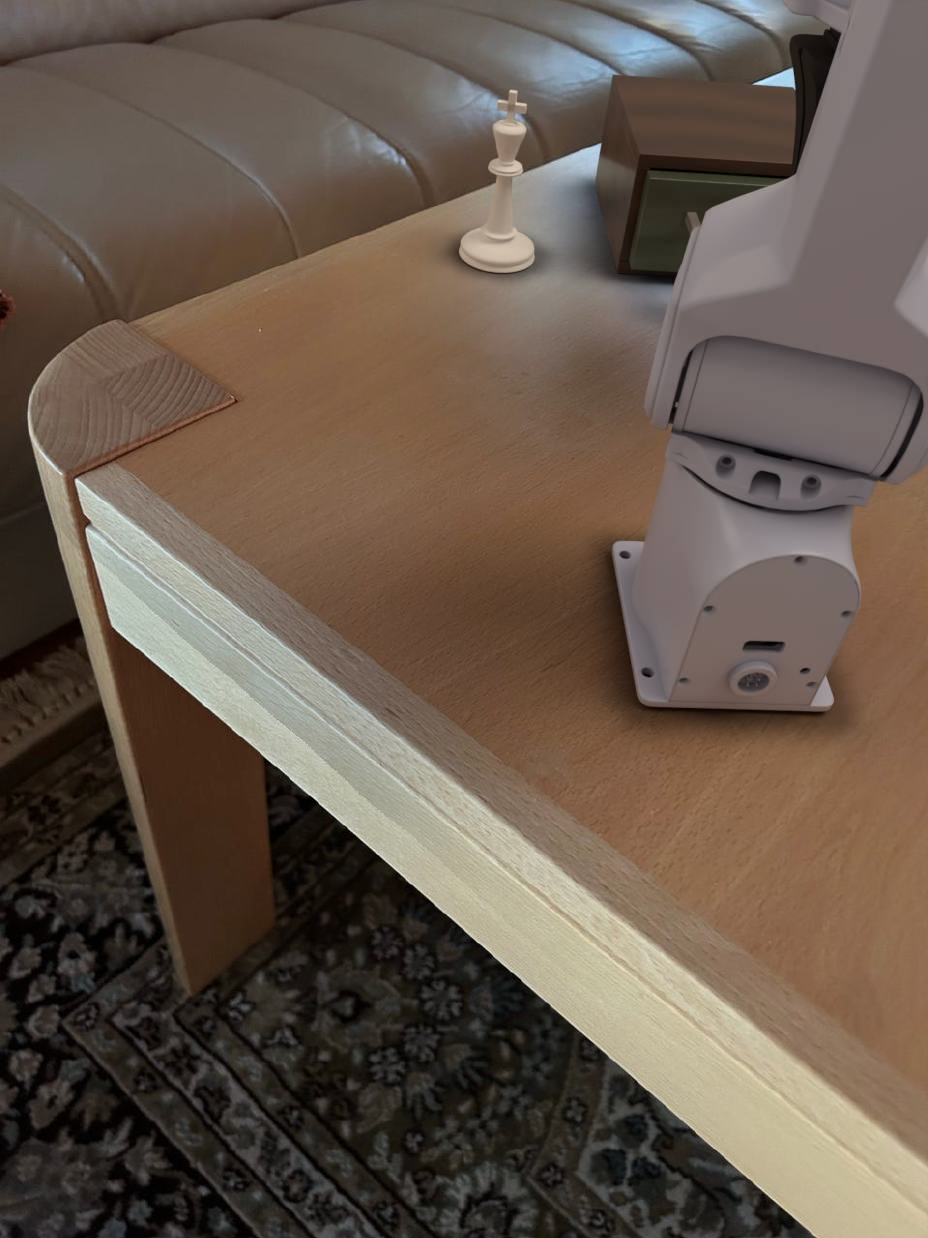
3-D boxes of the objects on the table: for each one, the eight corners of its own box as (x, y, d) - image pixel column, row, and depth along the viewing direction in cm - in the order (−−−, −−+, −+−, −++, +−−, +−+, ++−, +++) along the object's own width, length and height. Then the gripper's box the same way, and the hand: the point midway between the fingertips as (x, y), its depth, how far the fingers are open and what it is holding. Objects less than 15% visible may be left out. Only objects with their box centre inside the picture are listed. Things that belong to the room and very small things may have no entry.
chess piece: (528, 278, 64) (549, 112, 57) (451, 265, 65) (463, 99, 58) (539, 243, 68) (560, 83, 61) (467, 231, 68) (479, 70, 61)
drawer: (826, 318, 62) (860, 226, 58) (641, 308, 61) (662, 213, 57) (764, 197, 73) (789, 112, 69) (608, 187, 73) (623, 101, 68)
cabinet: (806, 284, 67) (846, 166, 61) (616, 273, 66) (639, 153, 60) (762, 195, 76) (793, 86, 70) (594, 185, 75) (612, 73, 69)
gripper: (780, -173, 45) (705, 142, 55) (880, -92, 35) (766, 275, 45) (934, -159, 46) (833, 151, 55) (1076, -76, 36) (921, 284, 45)
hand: (812, 207), depth 50 cm, fingers closed
